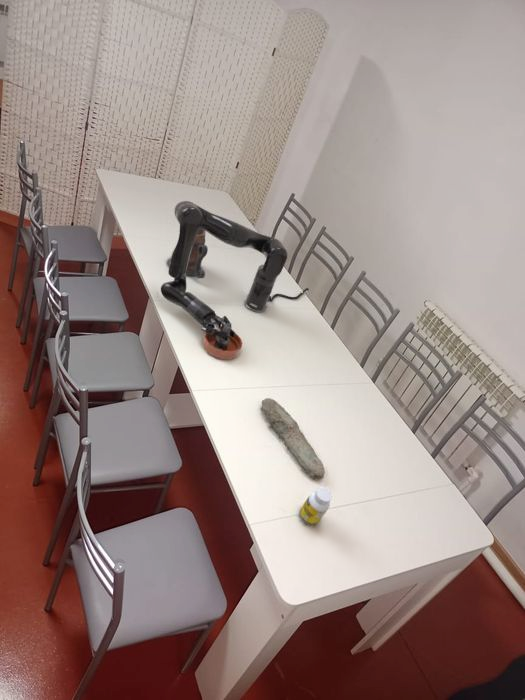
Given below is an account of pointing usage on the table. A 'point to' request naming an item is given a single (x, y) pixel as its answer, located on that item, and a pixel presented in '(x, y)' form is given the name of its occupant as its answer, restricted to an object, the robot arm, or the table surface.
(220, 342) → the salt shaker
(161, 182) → the table surface
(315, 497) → the pill bottle
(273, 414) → the long grey stone
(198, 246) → the tankard
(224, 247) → the table surface
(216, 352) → the bowl
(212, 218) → the robot arm
